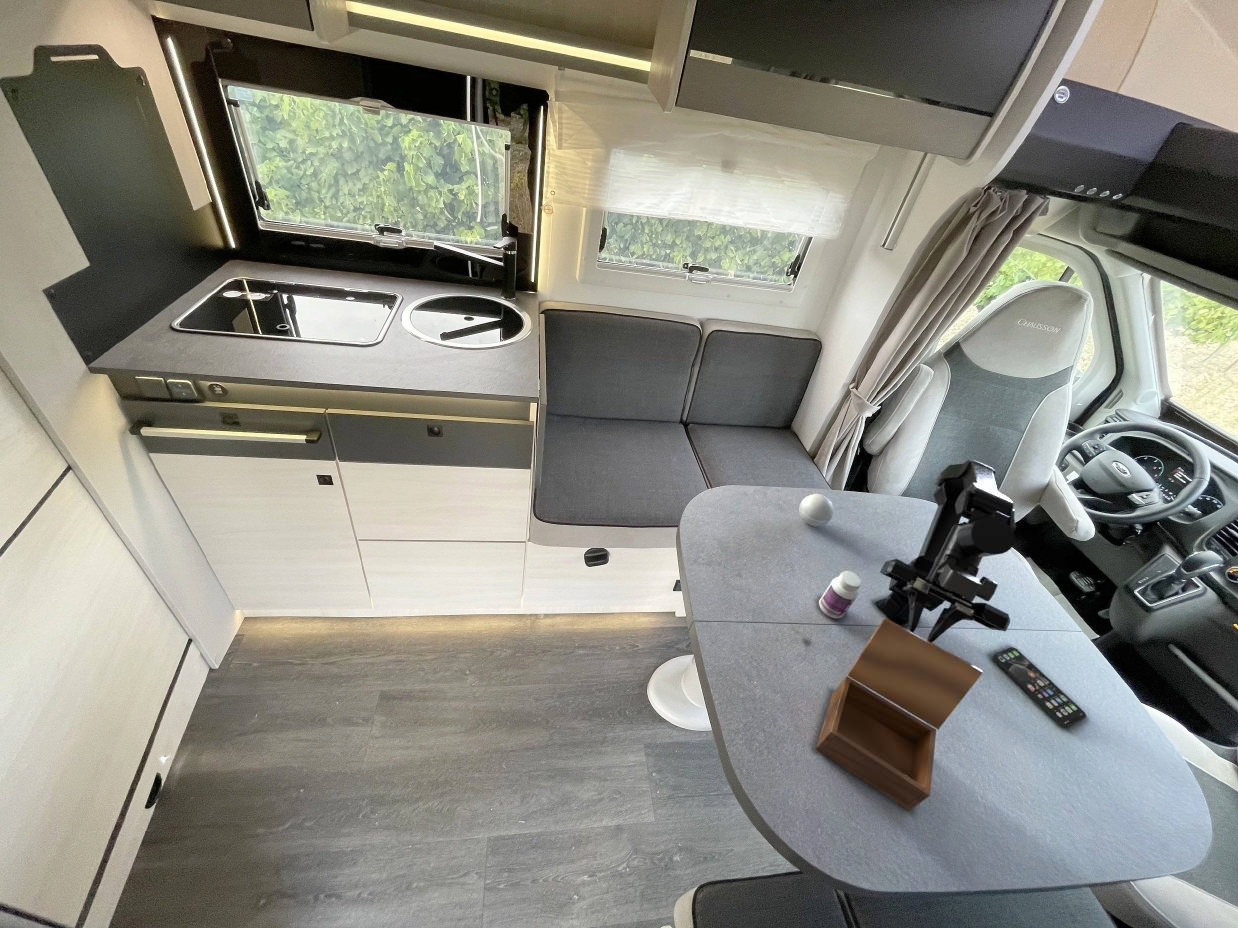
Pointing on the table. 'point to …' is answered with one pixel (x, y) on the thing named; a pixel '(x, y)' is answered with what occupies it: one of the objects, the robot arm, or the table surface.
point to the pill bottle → (840, 594)
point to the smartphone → (1039, 687)
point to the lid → (914, 673)
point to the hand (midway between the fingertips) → (919, 638)
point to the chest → (879, 743)
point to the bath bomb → (816, 510)
